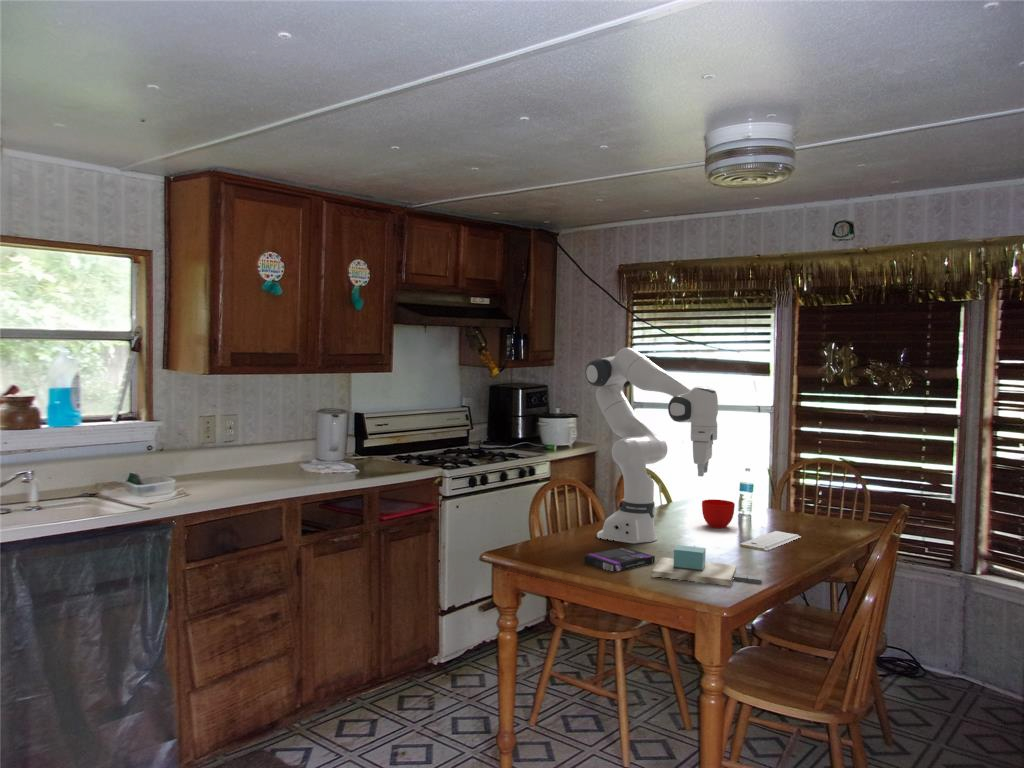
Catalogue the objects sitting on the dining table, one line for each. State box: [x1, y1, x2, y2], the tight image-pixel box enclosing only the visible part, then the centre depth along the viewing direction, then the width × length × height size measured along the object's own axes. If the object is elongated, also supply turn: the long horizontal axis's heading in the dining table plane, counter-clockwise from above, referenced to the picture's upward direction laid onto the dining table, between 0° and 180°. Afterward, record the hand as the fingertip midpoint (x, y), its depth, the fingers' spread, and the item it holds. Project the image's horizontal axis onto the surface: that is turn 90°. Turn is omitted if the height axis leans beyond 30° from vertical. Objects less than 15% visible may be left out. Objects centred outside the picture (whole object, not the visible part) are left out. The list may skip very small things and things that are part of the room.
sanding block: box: [673, 544, 707, 572], centre depth 254 cm, size 9×6×6 cm
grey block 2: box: [746, 574, 762, 585], centre depth 247 cm, size 4×4×2 cm
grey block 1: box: [733, 572, 749, 583], centre depth 248 cm, size 4×4×2 cm
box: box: [584, 546, 656, 573], centre depth 265 cm, size 14×4×20 cm
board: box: [651, 557, 737, 587], centre depth 253 cm, size 24×18×2 cm
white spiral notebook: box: [739, 530, 802, 552], centre depth 299 cm, size 31×3×12 cm
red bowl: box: [701, 499, 735, 529], centre depth 327 cm, size 13×17×10 cm
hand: (702, 474), depth 272 cm, fingers open, 8 cm apart
